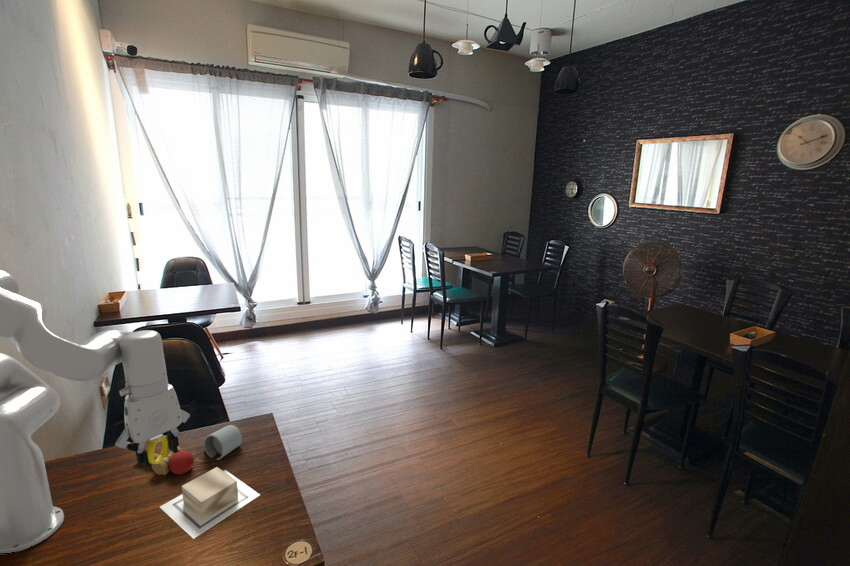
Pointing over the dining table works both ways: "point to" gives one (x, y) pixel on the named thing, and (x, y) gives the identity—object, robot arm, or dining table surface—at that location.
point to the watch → (152, 446)
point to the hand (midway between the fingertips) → (159, 456)
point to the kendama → (174, 462)
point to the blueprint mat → (198, 526)
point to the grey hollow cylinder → (223, 441)
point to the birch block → (209, 492)
